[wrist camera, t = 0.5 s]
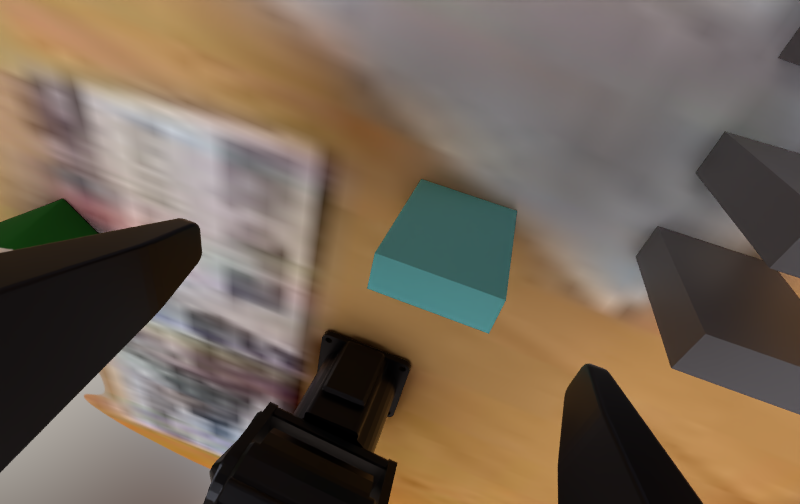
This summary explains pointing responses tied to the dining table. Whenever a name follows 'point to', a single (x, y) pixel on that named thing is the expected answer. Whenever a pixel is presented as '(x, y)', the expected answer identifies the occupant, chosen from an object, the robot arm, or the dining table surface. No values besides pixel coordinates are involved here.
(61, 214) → the milk carton
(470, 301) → the domino
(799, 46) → the domino
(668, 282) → the domino
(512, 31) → the dining table surface
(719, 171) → the domino
